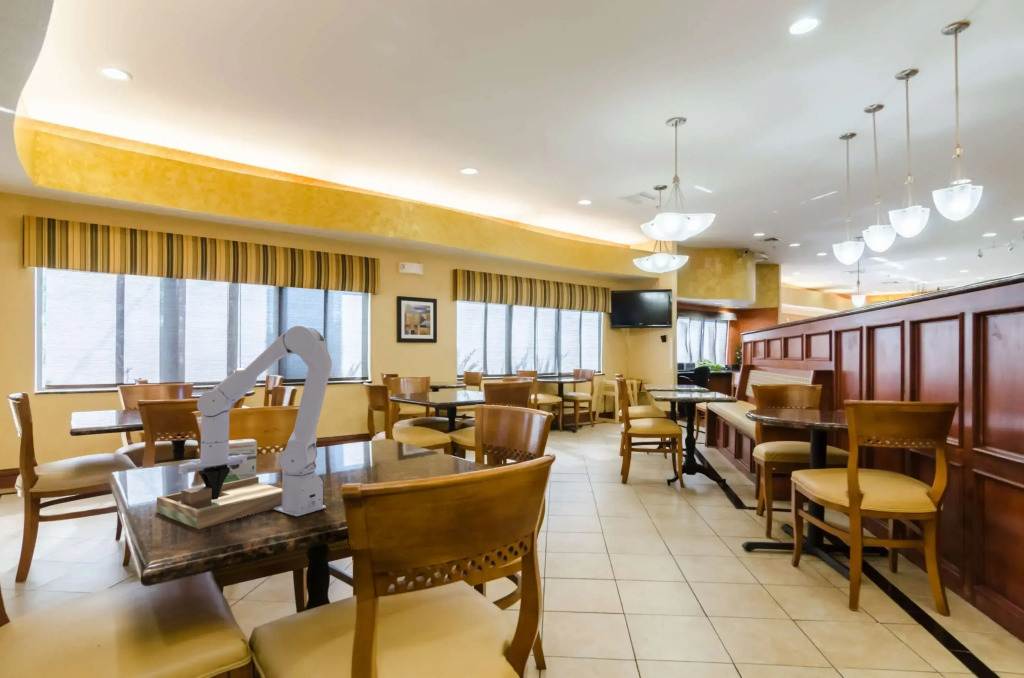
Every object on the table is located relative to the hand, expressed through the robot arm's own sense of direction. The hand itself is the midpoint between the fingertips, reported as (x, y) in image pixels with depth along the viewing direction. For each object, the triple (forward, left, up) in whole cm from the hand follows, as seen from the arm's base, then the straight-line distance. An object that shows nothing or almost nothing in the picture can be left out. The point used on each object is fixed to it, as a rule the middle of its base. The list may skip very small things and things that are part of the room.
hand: (213, 498), depth 116 cm
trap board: (0, -4, -3) cm, 5 cm away
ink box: (+23, -18, -3) cm, 30 cm away
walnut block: (0, +4, -1) cm, 4 cm away
